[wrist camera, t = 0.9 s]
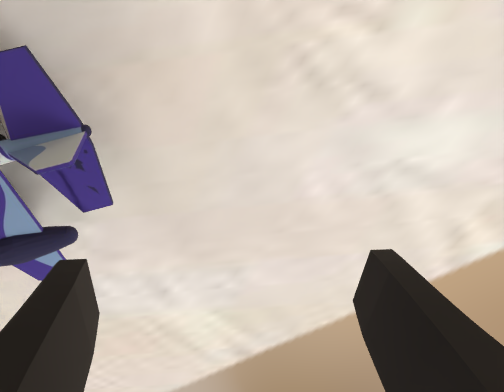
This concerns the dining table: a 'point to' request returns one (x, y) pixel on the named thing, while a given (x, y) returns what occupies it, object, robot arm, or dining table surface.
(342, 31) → the dining table surface
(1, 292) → the dining table surface
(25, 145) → the toy airplane
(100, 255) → the dining table surface
